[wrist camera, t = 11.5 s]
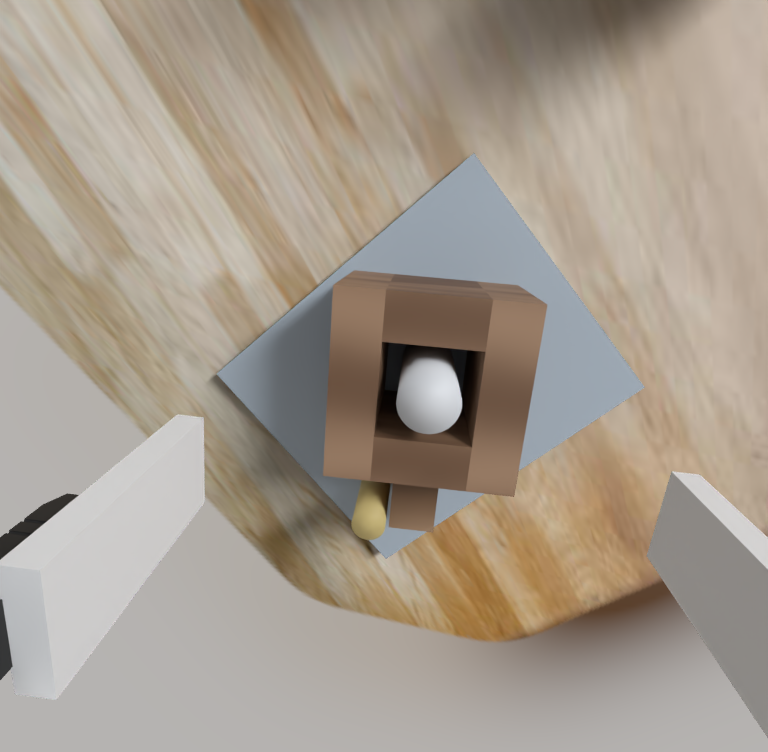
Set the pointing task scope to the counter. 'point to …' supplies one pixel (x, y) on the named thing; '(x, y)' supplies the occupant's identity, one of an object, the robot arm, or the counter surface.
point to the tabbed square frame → (479, 393)
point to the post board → (439, 252)
